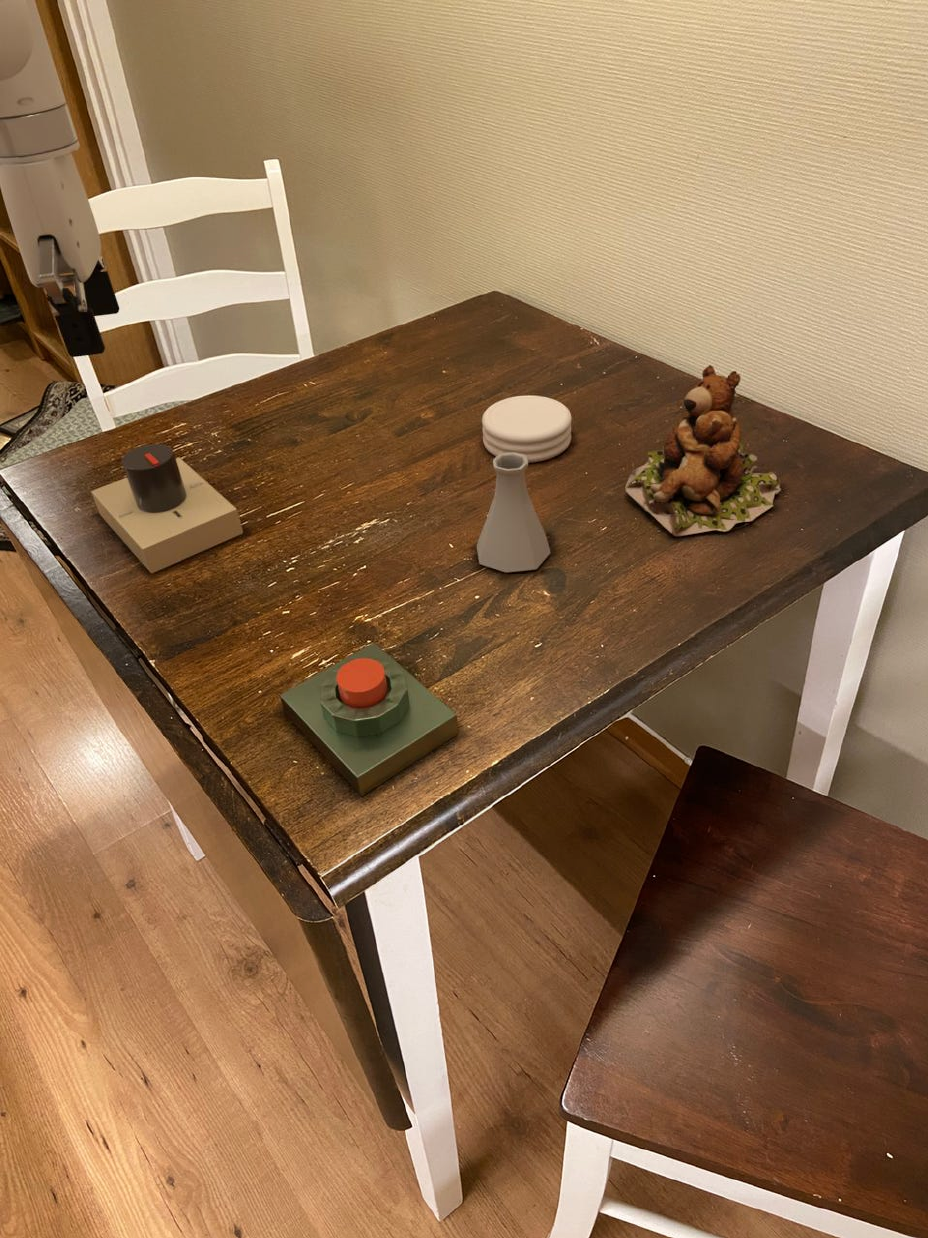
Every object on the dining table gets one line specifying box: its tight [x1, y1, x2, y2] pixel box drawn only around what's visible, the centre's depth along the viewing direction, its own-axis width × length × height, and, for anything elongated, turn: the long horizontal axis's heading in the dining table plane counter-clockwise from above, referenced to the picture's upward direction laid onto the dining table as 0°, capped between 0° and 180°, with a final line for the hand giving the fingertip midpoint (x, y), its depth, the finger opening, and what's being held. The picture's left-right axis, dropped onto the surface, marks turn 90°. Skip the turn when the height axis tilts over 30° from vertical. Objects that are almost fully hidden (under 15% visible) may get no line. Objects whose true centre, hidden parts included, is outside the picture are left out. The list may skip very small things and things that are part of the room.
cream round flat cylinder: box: [481, 395, 573, 464], centre depth 99 cm, size 10×10×4 cm
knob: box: [121, 443, 186, 513], centre depth 88 cm, size 5×5×5 cm
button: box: [337, 658, 388, 708], centre depth 66 cm, size 4×4×2 cm
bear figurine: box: [625, 364, 782, 537], centre depth 86 cm, size 14×15×12 cm
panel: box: [90, 457, 244, 574], centre depth 91 cm, size 14×10×3 cm
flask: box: [476, 452, 551, 573], centre depth 81 cm, size 7×7×10 cm
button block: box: [279, 642, 460, 797], centre depth 67 cm, size 11×9×4 cm
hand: (96, 333), depth 84 cm, fingers open, 9 cm apart
